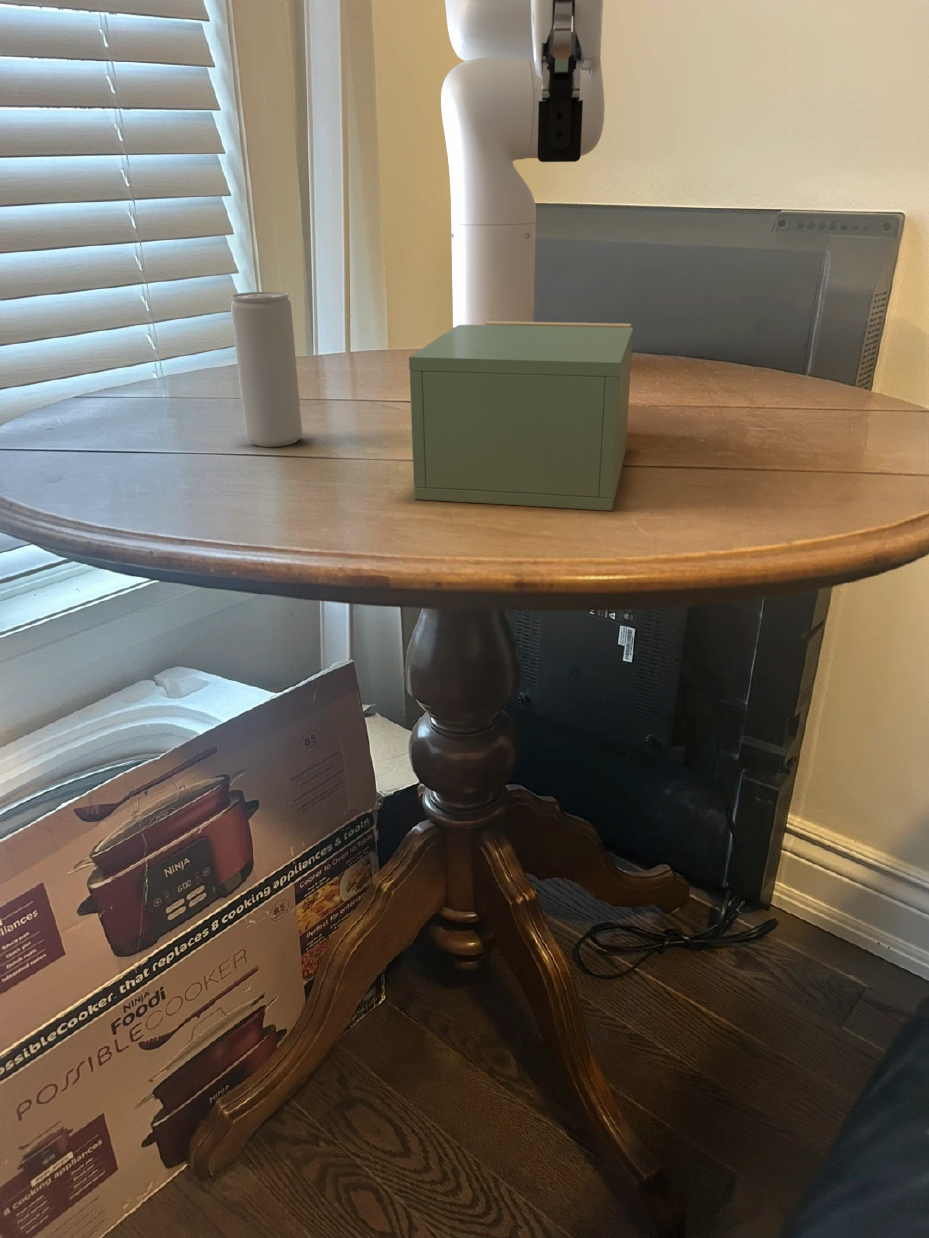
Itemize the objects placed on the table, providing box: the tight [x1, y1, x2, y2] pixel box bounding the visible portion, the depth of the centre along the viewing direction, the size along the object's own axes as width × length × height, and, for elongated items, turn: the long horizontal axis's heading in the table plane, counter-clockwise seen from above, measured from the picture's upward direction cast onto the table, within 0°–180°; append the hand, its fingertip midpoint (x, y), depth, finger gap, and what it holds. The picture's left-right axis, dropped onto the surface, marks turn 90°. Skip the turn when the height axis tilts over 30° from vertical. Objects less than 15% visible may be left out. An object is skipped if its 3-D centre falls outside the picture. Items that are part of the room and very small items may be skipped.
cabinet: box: [408, 325, 634, 512], centre depth 68 cm, size 15×14×10 cm
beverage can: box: [230, 291, 303, 448], centre depth 77 cm, size 5×5×12 cm
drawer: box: [485, 321, 632, 328], centre depth 79 cm, size 18×13×8 cm
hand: (559, 161), depth 74 cm, fingers open, 9 cm apart
